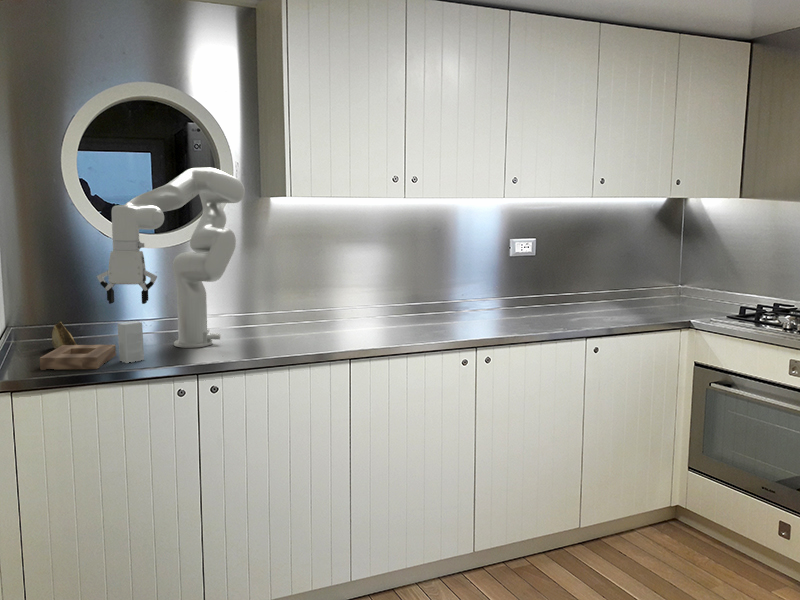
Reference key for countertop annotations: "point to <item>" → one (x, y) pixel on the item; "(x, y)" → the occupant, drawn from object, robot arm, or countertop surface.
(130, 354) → the skincare box
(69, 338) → the rock
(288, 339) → the countertop surface
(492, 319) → the countertop surface
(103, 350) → the walnut holder
